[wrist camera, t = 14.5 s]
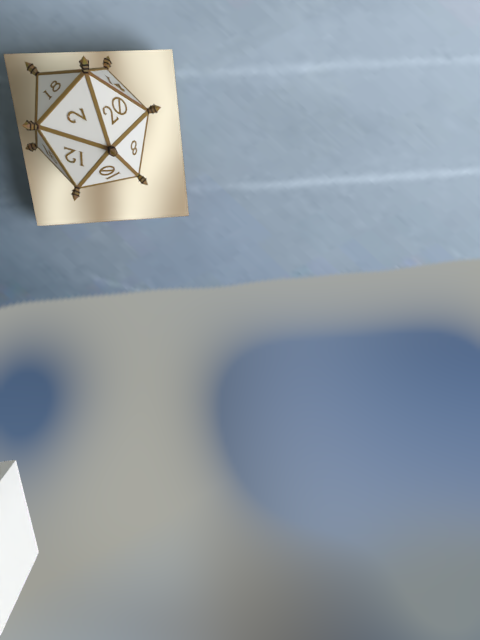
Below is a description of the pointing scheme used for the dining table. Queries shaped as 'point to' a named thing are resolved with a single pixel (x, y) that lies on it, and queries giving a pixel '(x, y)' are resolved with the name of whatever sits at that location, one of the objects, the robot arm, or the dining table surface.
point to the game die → (89, 125)
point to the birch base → (158, 155)
